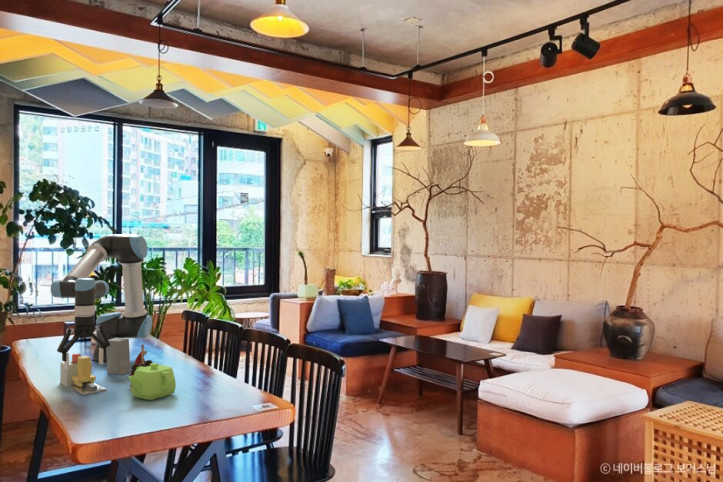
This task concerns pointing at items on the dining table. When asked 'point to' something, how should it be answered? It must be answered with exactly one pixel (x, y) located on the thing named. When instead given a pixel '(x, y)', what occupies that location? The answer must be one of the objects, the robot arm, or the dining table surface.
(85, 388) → the rail base
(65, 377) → the cabinet
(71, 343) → the robot arm
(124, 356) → the skincare box
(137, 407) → the dining table surface
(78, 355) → the button
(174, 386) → the teapot
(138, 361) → the red brown figurine
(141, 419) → the dining table surface
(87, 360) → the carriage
